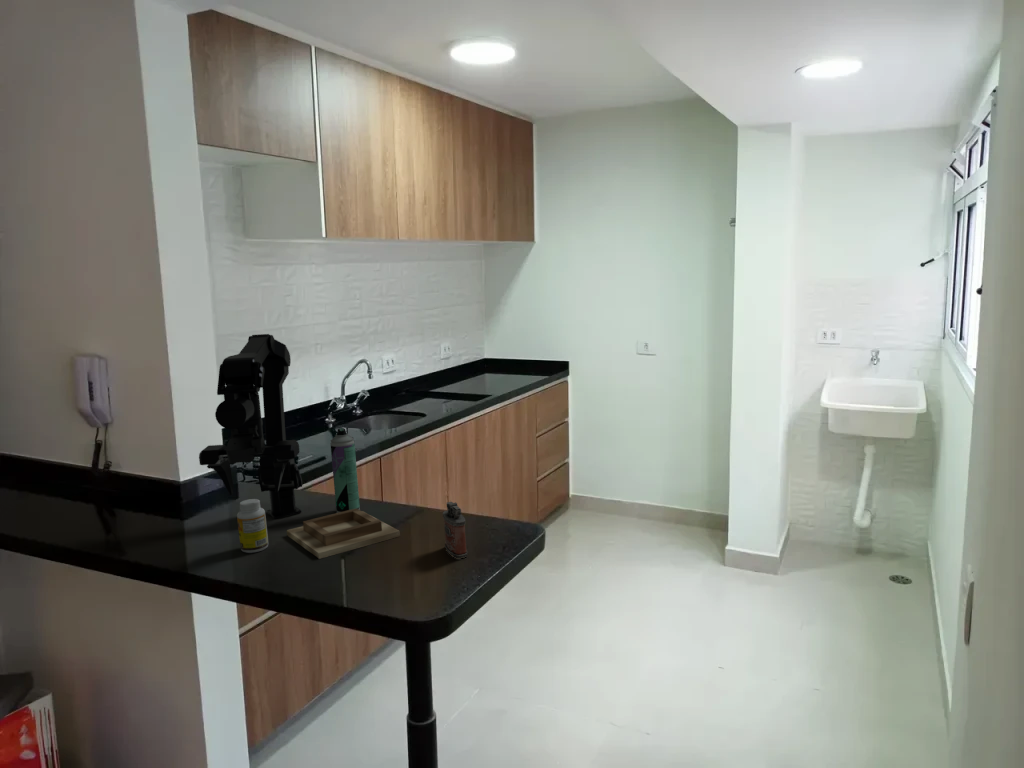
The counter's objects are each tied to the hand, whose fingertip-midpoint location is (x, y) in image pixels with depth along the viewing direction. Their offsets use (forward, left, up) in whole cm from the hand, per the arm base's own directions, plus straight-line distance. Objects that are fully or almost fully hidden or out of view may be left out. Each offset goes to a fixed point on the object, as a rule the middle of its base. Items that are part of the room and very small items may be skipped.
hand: (254, 492), depth 154 cm
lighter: (+30, +29, -12) cm, 44 cm away
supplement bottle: (-1, -1, -12) cm, 12 cm away
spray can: (-10, +24, -12) cm, 29 cm away
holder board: (+5, +16, -12) cm, 21 cm away
